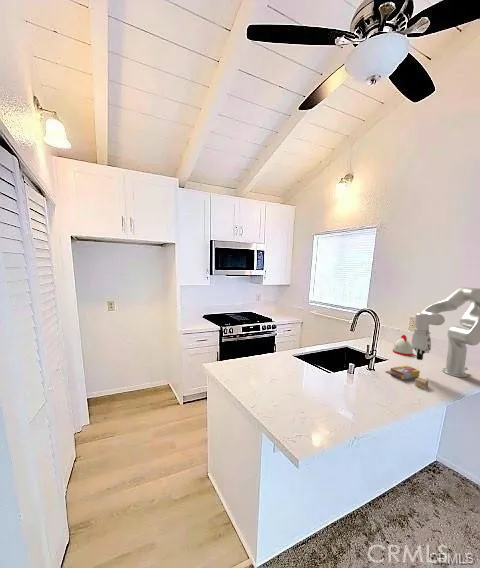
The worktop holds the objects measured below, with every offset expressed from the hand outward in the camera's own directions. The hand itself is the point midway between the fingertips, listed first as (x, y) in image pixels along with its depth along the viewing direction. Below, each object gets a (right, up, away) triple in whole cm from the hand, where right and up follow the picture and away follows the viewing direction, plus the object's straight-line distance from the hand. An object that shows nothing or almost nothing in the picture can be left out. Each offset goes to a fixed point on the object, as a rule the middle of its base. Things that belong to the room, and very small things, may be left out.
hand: (419, 359), depth 168 cm
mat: (-13, -9, -3) cm, 16 cm away
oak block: (-11, -11, -17) cm, 23 cm away
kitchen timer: (+15, -7, +42) cm, 45 cm away
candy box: (-5, -7, -1) cm, 9 cm away
